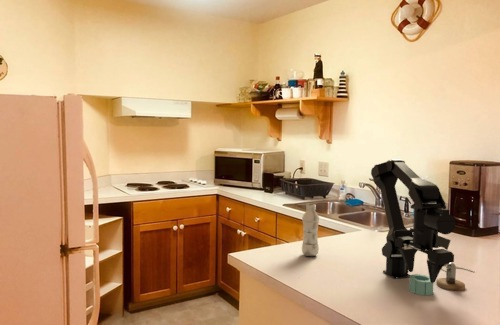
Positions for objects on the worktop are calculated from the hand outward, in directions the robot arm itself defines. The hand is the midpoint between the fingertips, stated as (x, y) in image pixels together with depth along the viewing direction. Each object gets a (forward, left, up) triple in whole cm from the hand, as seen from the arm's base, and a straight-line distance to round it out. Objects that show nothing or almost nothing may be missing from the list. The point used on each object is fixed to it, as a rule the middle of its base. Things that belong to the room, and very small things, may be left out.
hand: (421, 276), depth 118 cm
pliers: (+25, +16, -5) cm, 30 cm away
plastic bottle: (-17, +41, -5) cm, 45 cm away
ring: (0, 0, -4) cm, 4 cm away
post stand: (+12, +1, -4) cm, 13 cm away
